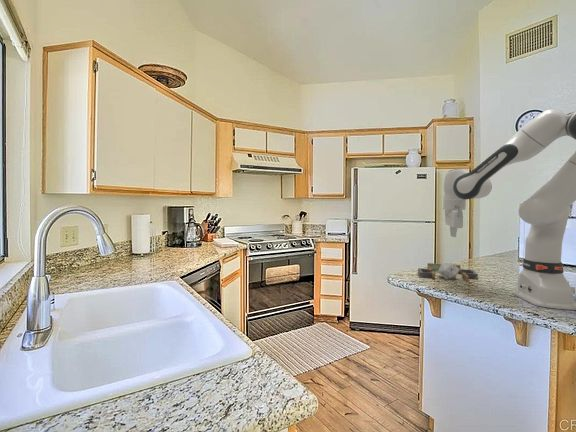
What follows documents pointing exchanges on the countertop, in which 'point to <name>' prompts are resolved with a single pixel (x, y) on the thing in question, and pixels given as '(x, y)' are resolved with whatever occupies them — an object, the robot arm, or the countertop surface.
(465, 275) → the trap lane
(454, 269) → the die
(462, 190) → the robot arm
